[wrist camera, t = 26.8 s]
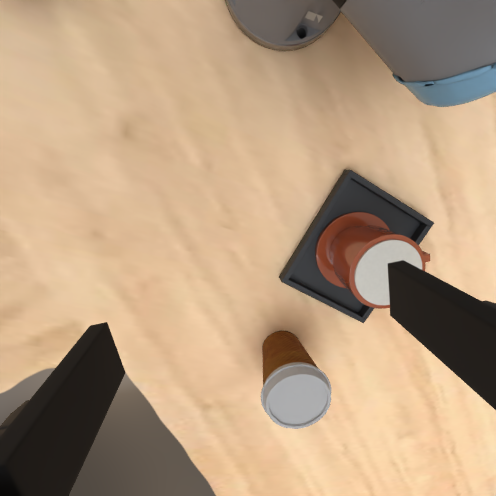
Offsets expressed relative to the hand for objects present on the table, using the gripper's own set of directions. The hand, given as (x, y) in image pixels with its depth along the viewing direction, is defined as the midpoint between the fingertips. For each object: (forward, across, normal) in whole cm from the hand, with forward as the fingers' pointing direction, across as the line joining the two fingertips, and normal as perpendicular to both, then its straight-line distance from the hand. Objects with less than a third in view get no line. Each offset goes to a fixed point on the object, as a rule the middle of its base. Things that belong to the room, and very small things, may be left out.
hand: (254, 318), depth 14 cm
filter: (+30, +17, -9) cm, 36 cm away
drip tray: (+31, +17, -9) cm, 36 cm away
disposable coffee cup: (+31, +4, -24) cm, 39 cm away
